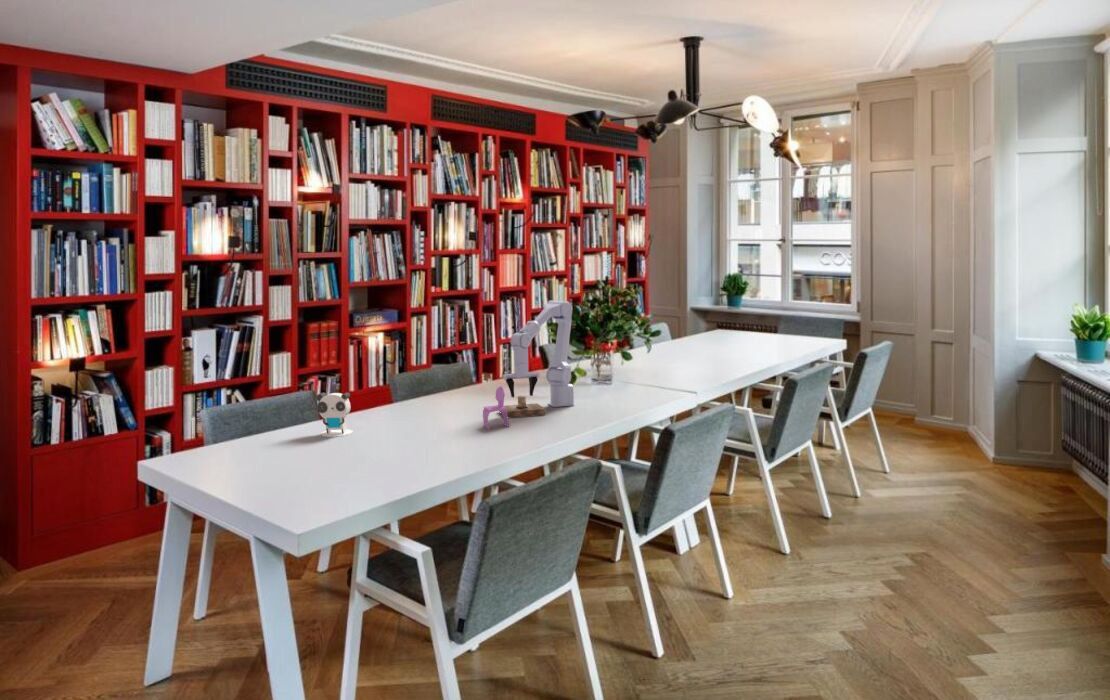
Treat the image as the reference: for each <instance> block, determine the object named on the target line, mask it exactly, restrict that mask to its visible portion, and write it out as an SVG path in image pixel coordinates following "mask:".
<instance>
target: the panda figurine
mask: <svg viewBox="0 0 1110 700" xmlns="http://www.w3.org/2000/svg"><path fill="white" fill-rule="evenodd" d="M349 398H351V393H350V392H345V393H341V392H332V393H328V394H327V393H326V392H321V393H318V394H317V395H316V401H318V404H317V412H318V413H319V415H320V416H321V417H322V418H323V420H322V423H323V424H324V425H325V430H324V431H322V432H321V433H320V436H321V435H322V436H321V437H324V436H327V437H326V438H337V437H336V436H341V437H345V436H344V435H346V436H349V435H348V434H350V435H352V434H353V433H352V432H353V430H352V429H348V419H347V416H348V415H349V414H350V411H351V402H350V399H349ZM351 433H352V434H351Z"/></svg>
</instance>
